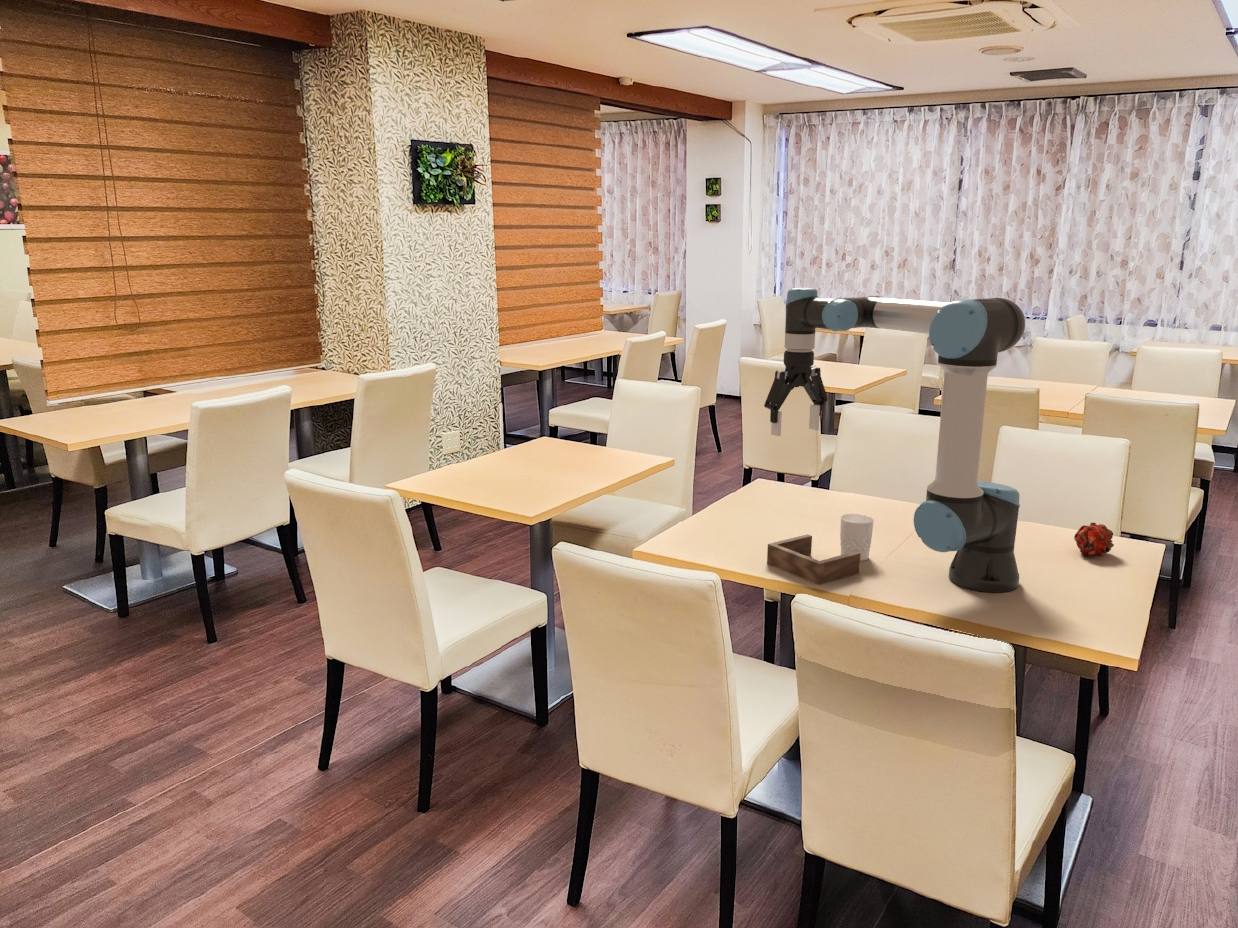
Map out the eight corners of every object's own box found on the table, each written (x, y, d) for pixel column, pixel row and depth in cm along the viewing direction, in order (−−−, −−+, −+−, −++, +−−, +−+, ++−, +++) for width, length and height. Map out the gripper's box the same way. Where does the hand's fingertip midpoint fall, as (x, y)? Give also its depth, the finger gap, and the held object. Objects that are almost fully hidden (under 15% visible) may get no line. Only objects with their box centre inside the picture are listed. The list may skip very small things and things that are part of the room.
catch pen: (858, 573, 219) (860, 553, 218) (818, 584, 212) (819, 564, 211) (806, 553, 233) (807, 534, 232) (766, 563, 226) (767, 543, 224)
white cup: (871, 563, 226) (874, 524, 224) (838, 561, 228) (841, 522, 225) (870, 552, 234) (872, 514, 231) (837, 550, 235) (840, 512, 233)
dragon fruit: (1101, 553, 238) (1087, 572, 230) (1073, 530, 241) (1059, 548, 232) (1125, 533, 233) (1112, 552, 224) (1097, 510, 235) (1083, 527, 227)
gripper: (822, 345, 245) (818, 424, 250) (752, 351, 231) (749, 435, 236) (844, 348, 239) (839, 429, 244) (773, 355, 225) (769, 440, 230)
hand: (795, 432), depth 240 cm, fingers open, 13 cm apart
